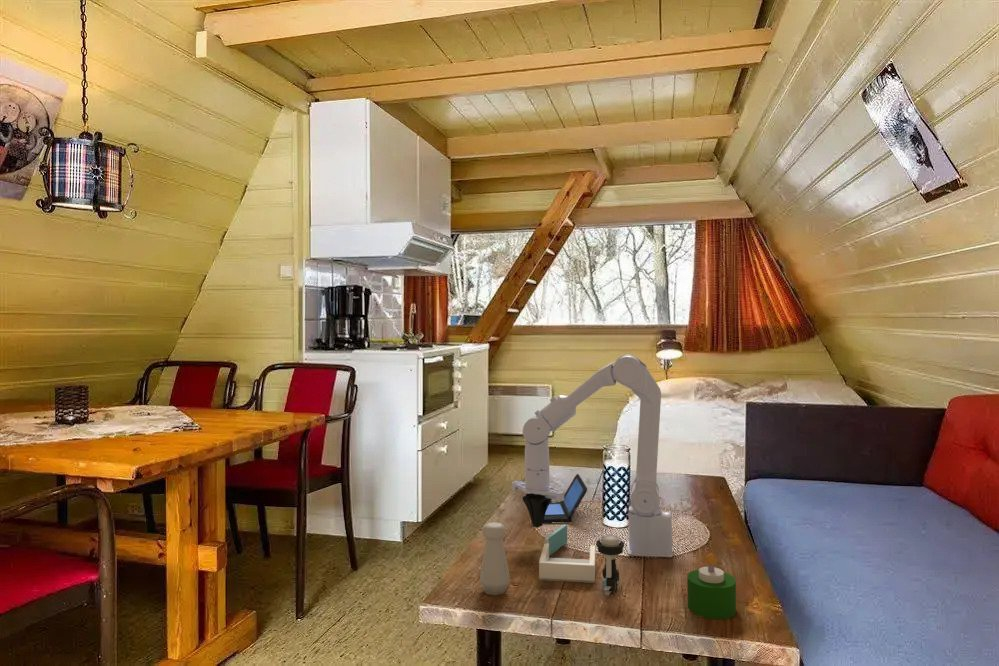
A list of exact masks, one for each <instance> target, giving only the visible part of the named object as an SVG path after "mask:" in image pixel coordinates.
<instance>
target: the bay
mask: <svg viewBox="0 0 999 666" xmlns="http://www.w3.org/2000/svg"><path fill="white" fill-rule="evenodd" d="M589 550H590V551H589V559H588V558H587V559H585V558H583V559H582V558H565V557H564V558H563V557H550V556H549V543H544V544H543V547H542V550H541V551H542V552H541V554H540V557H539V562H538V569H539V570H538V571H539V572H538V577H539V578H538V580H539V581H549V582H550V581H552V582H566V583H567V582H571V583H586V584H587V583H588V584H595V583H596V582H595V581H596V580H595V578H596V562H597V561H596V545H594V544H593V545H590V549H589ZM595 561H596V562H595Z"/></svg>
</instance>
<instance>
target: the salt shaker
mask: <svg viewBox="0 0 999 666" xmlns="http://www.w3.org/2000/svg"><path fill="white" fill-rule="evenodd" d="M505 533H506V527H505V525H503V523H500V522H487V523H486V524H484V525H483V529H482V536H483V538H485V543H484V550H483V557H482V562H481V569H480V576H479V582H480V584H481V586H482V588H483V589H484V592H485V594H487V595H491V596H497V595H503V594H505V591H506V590H507V587H508V585H509V583H510V572H509V566H508V562H507V557H506V556H507V555H506V553H505V546H504V541H503V538H504V537H505V535H506V534H505Z"/></svg>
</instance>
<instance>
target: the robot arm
mask: <svg viewBox="0 0 999 666" xmlns="http://www.w3.org/2000/svg"><path fill="white" fill-rule="evenodd" d="M617 383H619V384H620V385H622V386H624V387H626V388H628V389H630V390H631V392H633V393H634V394H635V395H636V396H637V397H638V399H639V400H640V401H639V417H638V419H639V420H638V421H639V422H638V436H637V453H636V454H637V455H636V468H635V470H636V471H635V478H634V480H633V482H632V483H631V487H630V492H631V494H630V501H629V502H630V506H629V507H628V541H626V547H627V548H626V549H627V555H628V556H635V557H636V556H637V557H657V558H673V544H674V543H673V541H674V539H673V528H672V525H673V524H672V514H671V512H670V511H664V510H662V508H661V506H660V504H661V499H660V495H659V494H660V487H659V485H658V483H657V475H658V473H657V471H658V454H659V453H658V452H659V436H660V435H659V434H660V419H661V402H662V401H661V400H662V391H661V387H660V386H659V385H658V383H657V381H656V380H655V377H653V374H652V372H650V370H649V368H648V367H647V365H646V363H644V362H643V361H642V360H641V359H640V358H638V357H637V356H636V355H633V354H623V355H621V356H619V357H618V358H617V359H616V361H614V360H613V361H611V362H610V363H608V364H606V365H604V366H603V367H600V369H598V370H597V371H596V372H595V373H594V374H592V375H591V376H590V377H589V378H587V380H585V381H584V382H583V383H581V385H579V386H578V387H577V388H576V389H574V390H573V391H572V392H571V393H570V394H568V395H564V394H559V395H558V396H557V397H556V396H555V395H554V396H553V397H551V398H550V399H549V400H550V402H548V404H547V405H545V406H544V407H543V408H541V409H540V410H539V409H537V410H536V411H534V414H535V415H534V416H531V417H530V418H529V419H527V421H526V422H525V423H524V425H523V427H522V435H523V437H524V446H525V447H524V481H521V480H515V481H512V483H511V490H512V491H514V492H515V491H518V492H523V494H525V495H524V496H522V501H523V502H524V505H525V506H526V509H527V510H528V513H529V518H530V520H531V524H532V527H534V528H541V527H543V526H544V523H543V521H544V517H545V513H546V510H547V508H548V506H549V504H550V502H551V501H557V502H560V501H563V500H564V494H565V492H564V491H562V490H559V489H558V488H555V487H553V486H551V485H550V448H549V435H550V433H551V432H555V431H557V430H558V429H559V428H560V427H561V426H563V425H564V424H565V423H567V422H568V421H570V420H571V418H573V417H575V415H576V414H577V413H576V412H577V407H578V406H579V405H580V404H582V403H583V402H584V401H585V400H587V399H589V398H591V396H592V395H594V394H596V392H598V391H599V390H601V389H602V388H603V387H610V386H611V387H612V386H616V384H617Z"/></svg>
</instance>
